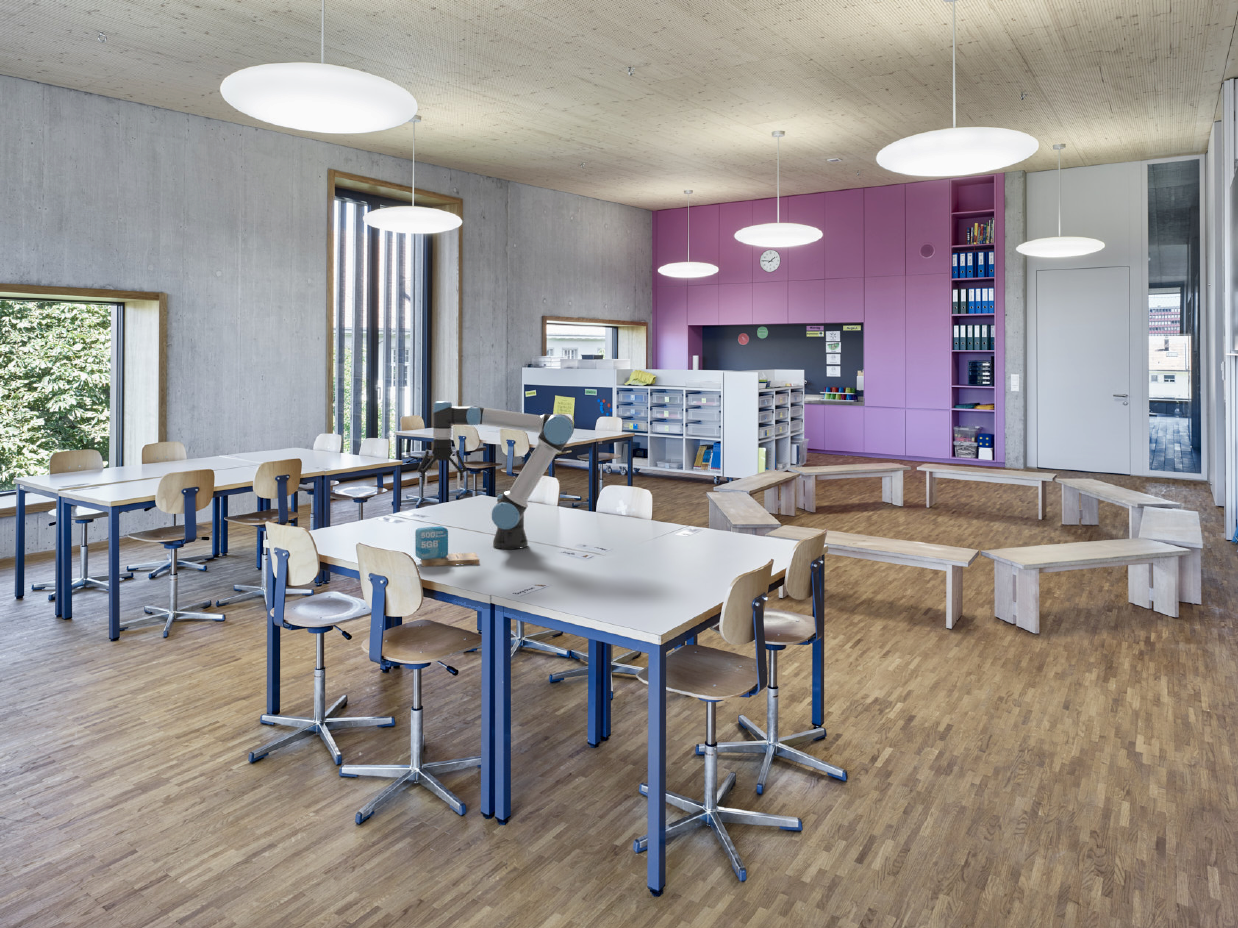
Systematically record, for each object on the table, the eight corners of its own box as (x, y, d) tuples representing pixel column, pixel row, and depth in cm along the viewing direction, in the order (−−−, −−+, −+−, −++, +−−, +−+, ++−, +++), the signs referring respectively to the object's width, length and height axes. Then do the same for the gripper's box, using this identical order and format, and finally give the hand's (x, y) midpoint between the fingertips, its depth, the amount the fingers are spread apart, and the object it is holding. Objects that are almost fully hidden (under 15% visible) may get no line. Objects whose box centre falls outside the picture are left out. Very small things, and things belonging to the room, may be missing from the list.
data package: (419, 560, 326) (419, 530, 325) (415, 558, 330) (415, 528, 328) (448, 557, 332) (448, 527, 331) (444, 555, 336) (444, 525, 335)
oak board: (475, 557, 343) (475, 552, 342) (479, 564, 330) (479, 559, 330) (420, 559, 336) (420, 554, 336) (422, 566, 324) (422, 561, 324)
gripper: (471, 437, 356) (471, 486, 358) (411, 437, 349) (411, 487, 351) (473, 439, 349) (473, 489, 351) (412, 439, 342) (412, 490, 344)
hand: (442, 488), depth 351 cm, fingers open, 13 cm apart
